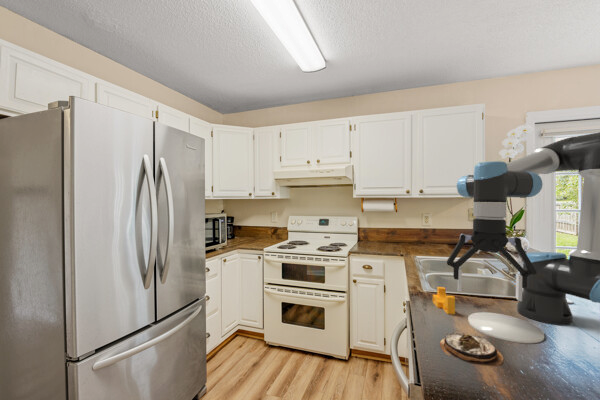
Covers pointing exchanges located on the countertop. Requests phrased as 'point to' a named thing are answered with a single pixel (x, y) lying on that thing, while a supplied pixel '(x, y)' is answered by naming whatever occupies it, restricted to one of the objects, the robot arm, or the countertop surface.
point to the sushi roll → (471, 348)
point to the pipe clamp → (444, 301)
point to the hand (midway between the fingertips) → (487, 295)
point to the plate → (506, 327)
